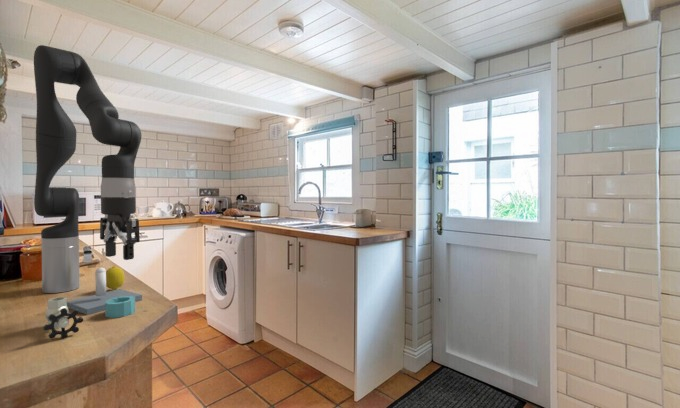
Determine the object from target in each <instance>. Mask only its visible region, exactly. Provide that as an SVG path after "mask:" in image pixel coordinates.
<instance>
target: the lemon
mask: <svg viewBox="0 0 680 408" xmlns="http://www.w3.org/2000/svg"><path fill="white" fill-rule="evenodd" d="M125 279H126V276H125V272H124V270H123V269H122V268H121V267H118V266H116V265H113V266H112V267H110V268H108V269H107V270H106V288H108V289H110V290H111V291H113V290H117V289H120V288H121V287H122V286H123V284H124V282H125Z"/></svg>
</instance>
